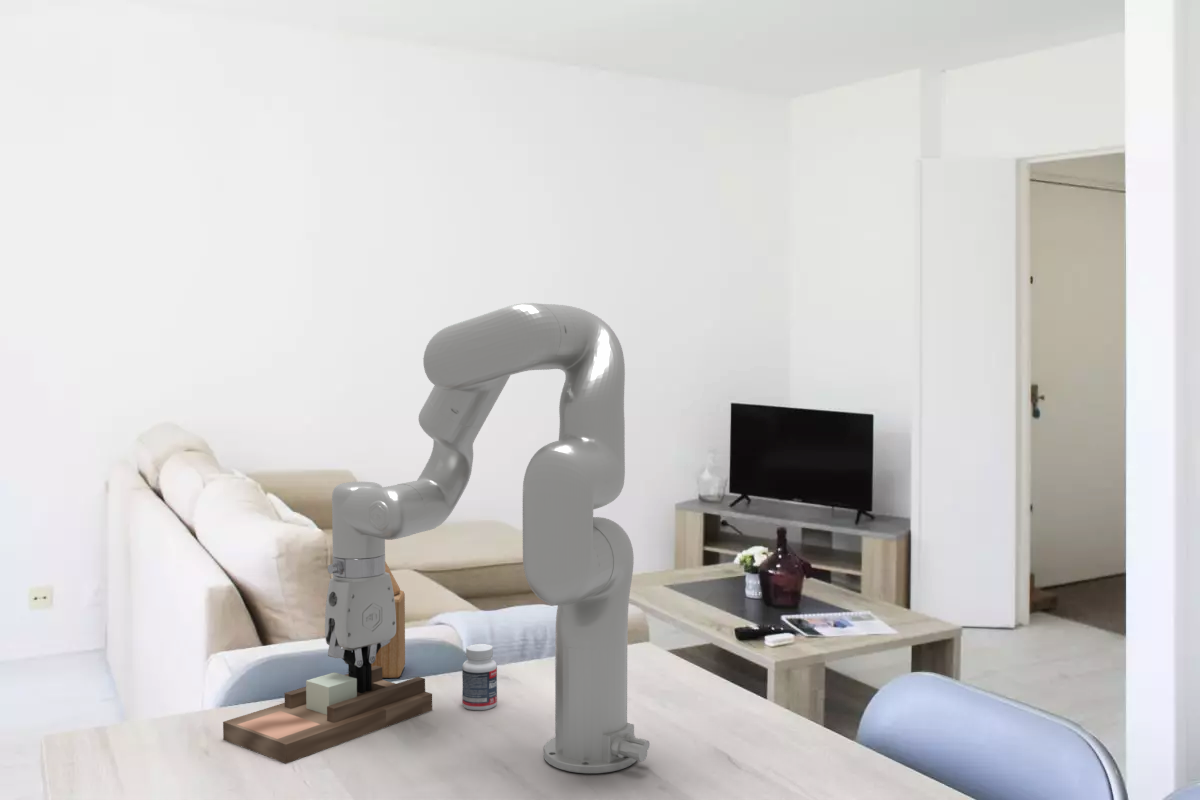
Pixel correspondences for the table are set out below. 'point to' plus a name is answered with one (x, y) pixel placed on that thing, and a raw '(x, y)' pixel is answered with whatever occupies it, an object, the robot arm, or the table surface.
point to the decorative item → (394, 638)
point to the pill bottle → (479, 678)
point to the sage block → (329, 691)
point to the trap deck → (327, 719)
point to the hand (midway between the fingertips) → (360, 690)
